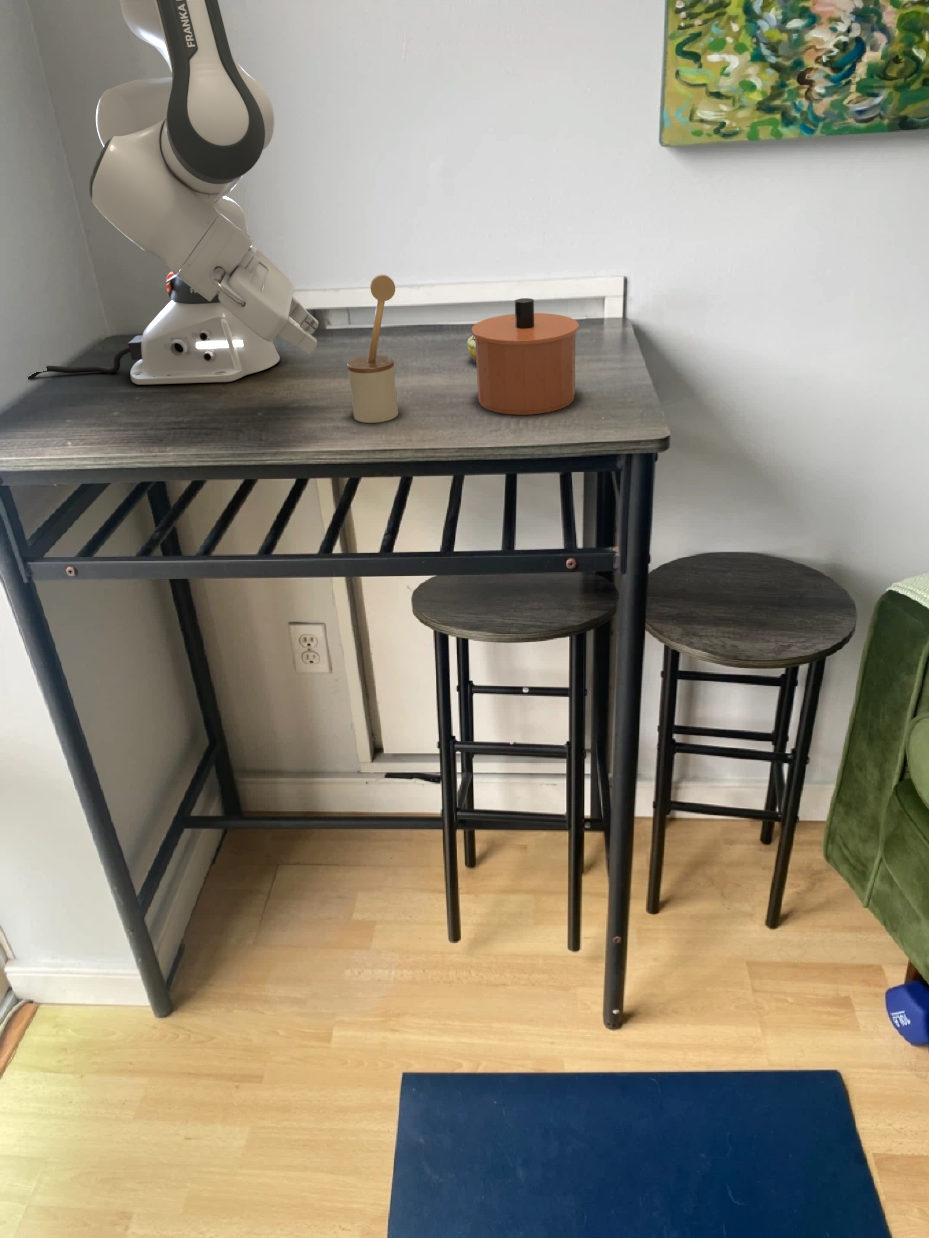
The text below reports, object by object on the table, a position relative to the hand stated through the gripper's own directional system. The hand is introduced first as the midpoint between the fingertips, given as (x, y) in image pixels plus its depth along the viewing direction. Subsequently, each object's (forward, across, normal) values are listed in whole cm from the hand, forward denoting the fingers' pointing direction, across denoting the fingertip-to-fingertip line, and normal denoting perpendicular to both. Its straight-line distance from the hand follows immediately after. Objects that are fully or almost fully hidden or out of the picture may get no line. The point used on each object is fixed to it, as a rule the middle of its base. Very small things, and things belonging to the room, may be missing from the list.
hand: (314, 338), depth 116 cm
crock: (+12, 0, +3) cm, 12 cm away
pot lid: (+20, +1, -18) cm, 27 cm away
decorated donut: (+26, +20, -11) cm, 35 cm away
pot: (+26, +1, -11) cm, 29 cm away
